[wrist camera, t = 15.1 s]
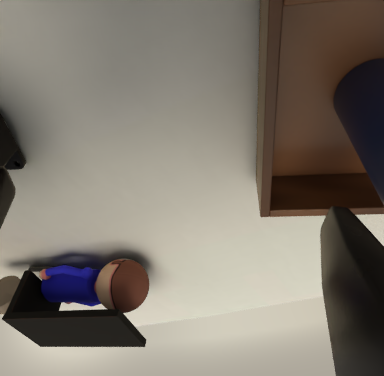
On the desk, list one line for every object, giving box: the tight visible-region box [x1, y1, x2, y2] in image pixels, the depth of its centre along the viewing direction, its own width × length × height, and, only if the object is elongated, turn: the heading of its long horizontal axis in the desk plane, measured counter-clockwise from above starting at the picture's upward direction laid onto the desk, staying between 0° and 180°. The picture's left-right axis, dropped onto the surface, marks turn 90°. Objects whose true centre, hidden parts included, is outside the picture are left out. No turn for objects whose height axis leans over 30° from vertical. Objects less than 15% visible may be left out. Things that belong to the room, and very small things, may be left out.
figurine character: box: [0, 259, 149, 347], centre depth 32 cm, size 7×8×15 cm
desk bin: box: [256, 0, 384, 217], centre depth 19 cm, size 13×13×4 cm
